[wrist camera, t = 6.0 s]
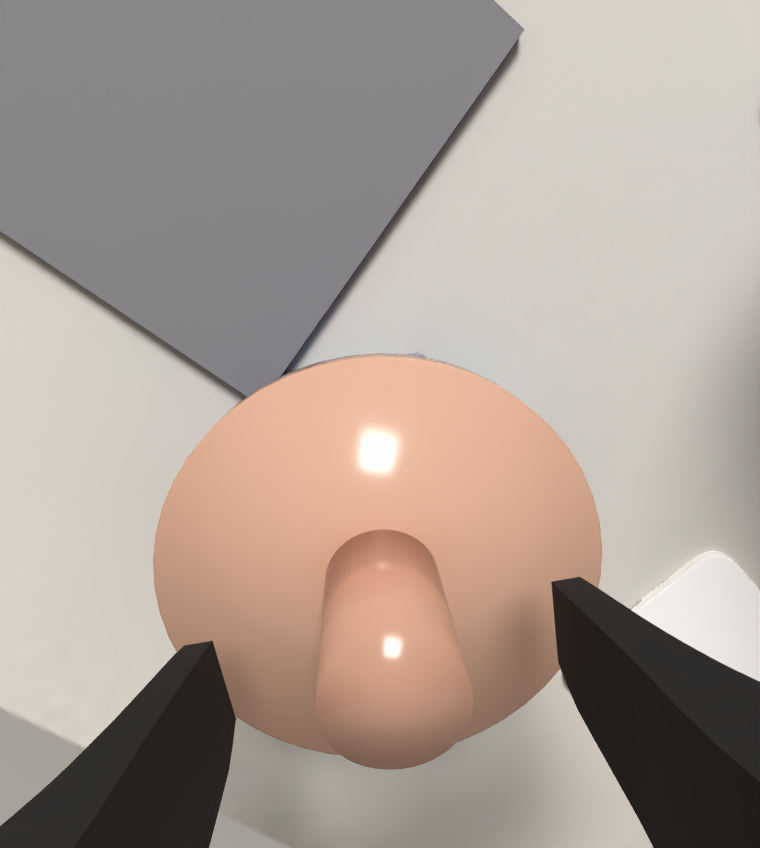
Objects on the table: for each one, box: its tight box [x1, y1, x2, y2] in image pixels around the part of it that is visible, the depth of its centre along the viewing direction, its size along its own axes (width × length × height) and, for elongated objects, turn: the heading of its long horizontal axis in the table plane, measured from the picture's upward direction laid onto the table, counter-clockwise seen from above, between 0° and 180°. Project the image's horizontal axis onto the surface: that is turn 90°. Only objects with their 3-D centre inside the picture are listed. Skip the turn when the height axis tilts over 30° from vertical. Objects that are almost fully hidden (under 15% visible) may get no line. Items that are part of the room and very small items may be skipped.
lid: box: [153, 354, 602, 769], centre depth 12 cm, size 11×11×5 cm
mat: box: [0, 0, 524, 396], centre depth 14 cm, size 12×12×1 cm
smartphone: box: [631, 551, 760, 681], centre depth 21 cm, size 7×1×15 cm
